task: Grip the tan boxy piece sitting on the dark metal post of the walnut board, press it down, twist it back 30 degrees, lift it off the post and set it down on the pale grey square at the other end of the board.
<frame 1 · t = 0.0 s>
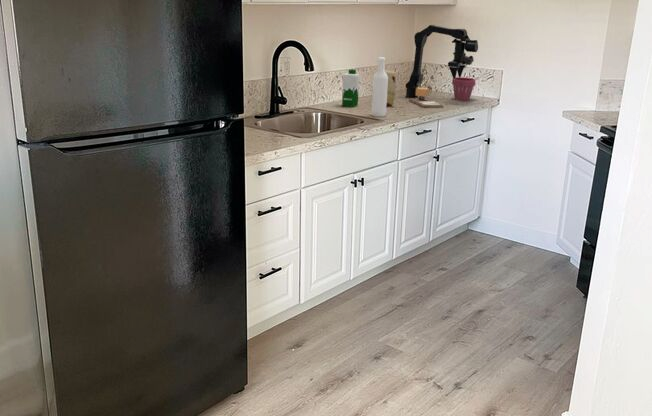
hand: (456, 77, 374), 15 cm above the worktop, tool pointing down, fingers open, 9 cm apart
food model: (386, 105, 362), on the worktop
plant pot: (462, 99, 390), on the worktop
post board: (425, 104, 370), on the worktop
milk carton: (349, 106, 358), on the worktop
bottle: (378, 115, 333), on the worktop
tan boxy piece: (422, 95, 374), point 4 cm above the worktop, touching post board
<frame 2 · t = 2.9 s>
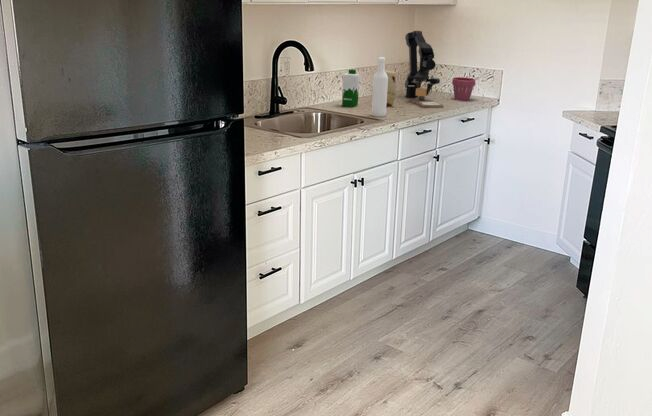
hand: (422, 94, 373), 5 cm above the worktop, tool pointing down, fingers closed on tan boxy piece, 6 cm apart
tan boxy piece: (422, 95, 374), point 4 cm above the worktop, touching gripper, post board
everything else where it was.
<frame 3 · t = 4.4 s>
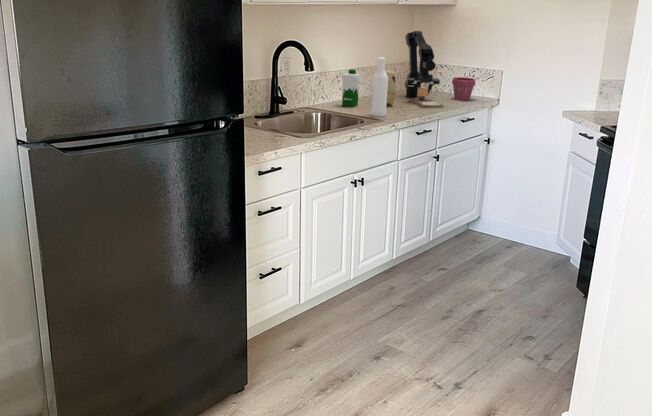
hand: (422, 95, 374), 4 cm above the worktop, tool pointing down, fingers closed on tan boxy piece, 6 cm apart
tan boxy piece: (422, 95, 374), point 4 cm above the worktop, touching gripper
everything else where it was.
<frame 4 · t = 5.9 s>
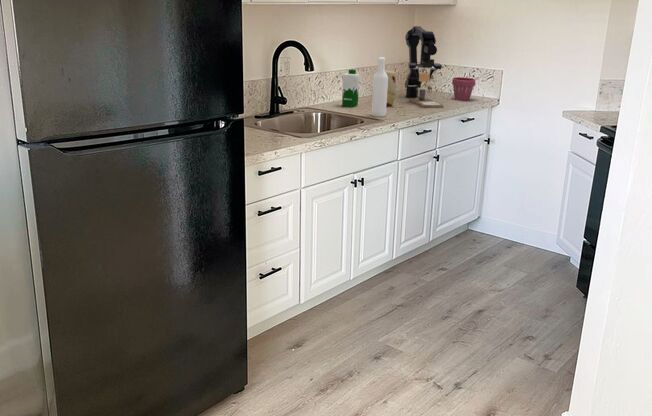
hand: (423, 80, 370), 13 cm above the worktop, tool pointing down, fingers closed on tan boxy piece, 6 cm apart
tan boxy piece: (423, 80, 370), point 13 cm above the worktop, touching gripper
everything else where it was.
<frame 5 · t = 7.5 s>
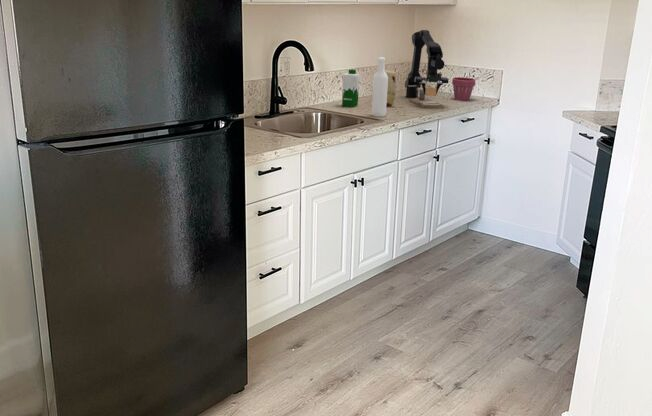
hand: (430, 94, 362), 6 cm above the worktop, tool pointing down, fingers closed on tan boxy piece, 6 cm apart
tan boxy piece: (430, 94, 362), point 7 cm above the worktop, touching gripper
everything else where it was.
when the fingers open (3 cm above the worktop, at t = 9.0 s): tan boxy piece drops 1 cm, resting on post board.
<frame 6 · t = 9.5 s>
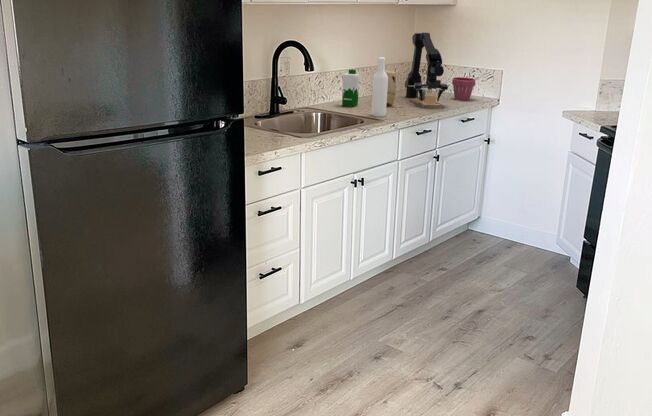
hand: (429, 101, 363), 3 cm above the worktop, tool pointing down, fingers open, 9 cm apart
tan boxy piece: (429, 103, 363), point 2 cm above the worktop, touching post board
everything else where it was.
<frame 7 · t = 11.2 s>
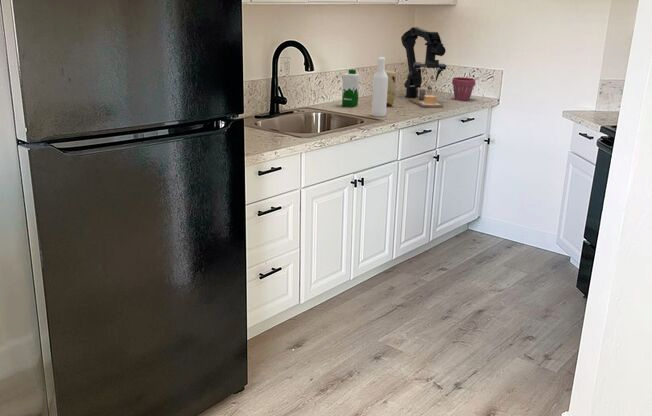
hand: (428, 80, 374), 13 cm above the worktop, tool pointing down, fingers open, 9 cm apart
nothing on the worktop moved.
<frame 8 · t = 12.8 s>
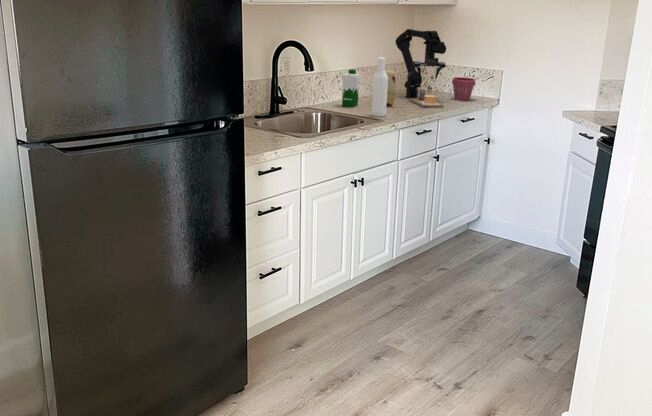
hand: (427, 79, 378), 13 cm above the worktop, tool pointing down, fingers open, 9 cm apart
nothing on the worktop moved.
at the end: tan boxy piece inside the target area (0.1 cm from its centre), point 1.8 cm above the worktop; tan boxy piece tilted 0°; the gripper is holding nothing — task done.
